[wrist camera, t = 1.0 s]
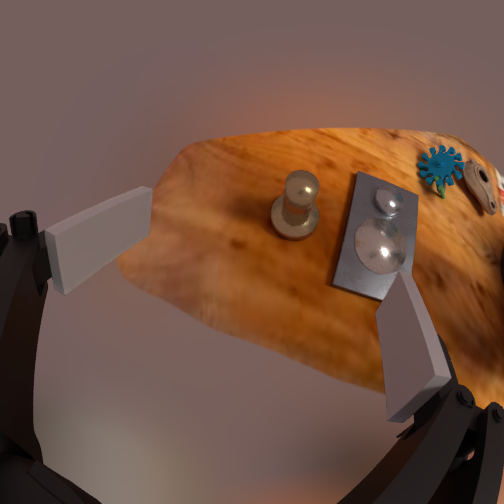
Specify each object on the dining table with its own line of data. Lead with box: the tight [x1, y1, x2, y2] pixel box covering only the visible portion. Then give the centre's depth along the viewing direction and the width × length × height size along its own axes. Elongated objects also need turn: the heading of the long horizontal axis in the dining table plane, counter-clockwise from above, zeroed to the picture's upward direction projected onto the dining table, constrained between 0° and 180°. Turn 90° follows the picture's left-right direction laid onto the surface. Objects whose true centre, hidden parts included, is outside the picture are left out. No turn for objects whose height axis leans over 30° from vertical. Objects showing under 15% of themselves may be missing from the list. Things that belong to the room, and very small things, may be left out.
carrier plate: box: [331, 171, 418, 302], centre depth 38 cm, size 12×20×2 cm, turn 160°
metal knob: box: [271, 170, 319, 241], centre depth 36 cm, size 7×7×10 cm
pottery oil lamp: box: [462, 158, 497, 215], centre depth 39 cm, size 9×12×7 cm
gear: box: [418, 145, 465, 199], centre depth 40 cm, size 11×6×10 cm
